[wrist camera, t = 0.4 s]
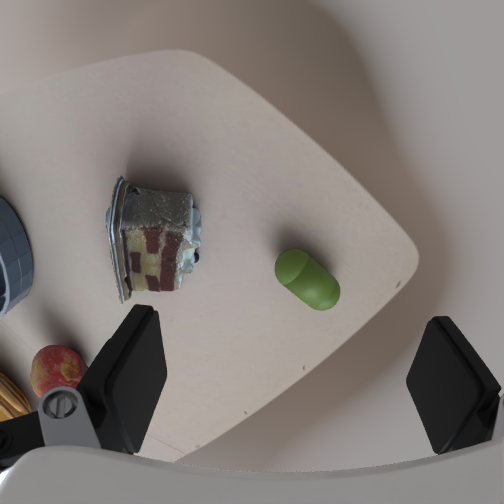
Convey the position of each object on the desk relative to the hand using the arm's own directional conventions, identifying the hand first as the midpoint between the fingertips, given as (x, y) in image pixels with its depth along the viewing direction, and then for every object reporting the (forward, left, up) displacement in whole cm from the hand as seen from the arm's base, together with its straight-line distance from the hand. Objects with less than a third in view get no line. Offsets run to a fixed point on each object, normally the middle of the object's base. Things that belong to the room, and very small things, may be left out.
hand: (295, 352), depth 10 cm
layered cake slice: (-3, -10, -17) cm, 20 cm away
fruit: (+4, -30, -17) cm, 35 cm away
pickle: (+5, 0, -17) cm, 18 cm away
